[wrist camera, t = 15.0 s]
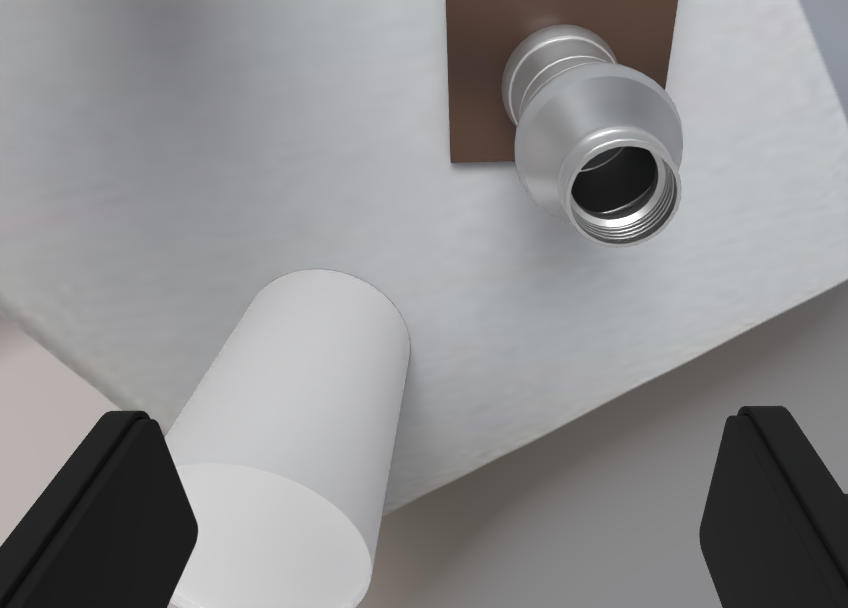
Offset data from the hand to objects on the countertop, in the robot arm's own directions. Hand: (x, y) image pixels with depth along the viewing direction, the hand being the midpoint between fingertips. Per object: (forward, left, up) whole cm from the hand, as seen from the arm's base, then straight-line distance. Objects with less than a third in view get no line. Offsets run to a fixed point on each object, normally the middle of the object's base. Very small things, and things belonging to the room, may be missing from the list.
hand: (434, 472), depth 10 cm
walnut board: (0, +5, -33) cm, 33 cm away
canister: (+20, -12, -33) cm, 40 cm away
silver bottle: (0, +5, -32) cm, 32 cm away
